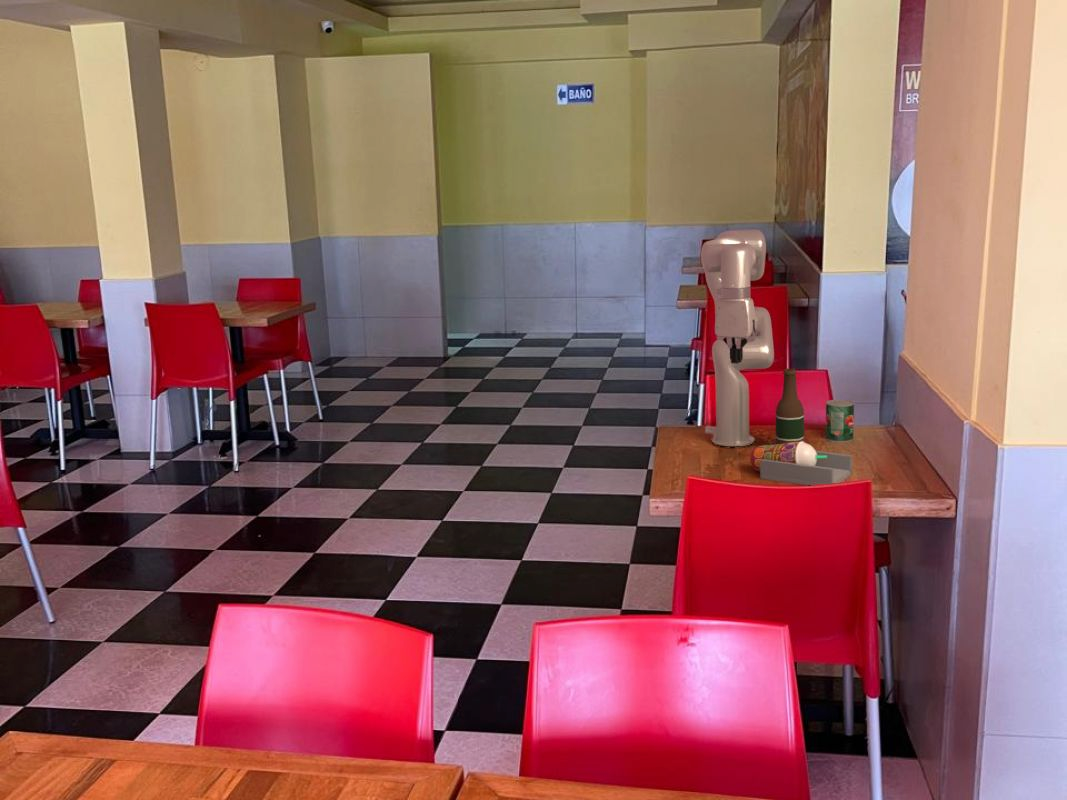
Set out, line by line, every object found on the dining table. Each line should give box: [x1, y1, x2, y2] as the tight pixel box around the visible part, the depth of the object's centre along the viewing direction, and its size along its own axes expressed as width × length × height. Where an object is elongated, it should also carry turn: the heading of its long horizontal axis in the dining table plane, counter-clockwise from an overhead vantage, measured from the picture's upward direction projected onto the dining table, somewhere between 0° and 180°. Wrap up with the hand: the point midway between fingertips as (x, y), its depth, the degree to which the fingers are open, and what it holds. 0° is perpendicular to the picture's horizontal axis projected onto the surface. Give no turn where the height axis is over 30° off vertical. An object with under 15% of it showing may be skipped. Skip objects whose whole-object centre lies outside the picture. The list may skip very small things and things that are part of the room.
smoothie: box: [750, 441, 827, 472], centre depth 263 cm, size 8×8×20 cm
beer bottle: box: [775, 368, 805, 444], centre depth 283 cm, size 8×8×24 cm
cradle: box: [759, 450, 853, 486], centre depth 263 cm, size 19×14×5 cm
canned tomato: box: [825, 399, 855, 443], centre depth 295 cm, size 8×8×11 cm
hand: (736, 362), depth 269 cm, fingers closed
